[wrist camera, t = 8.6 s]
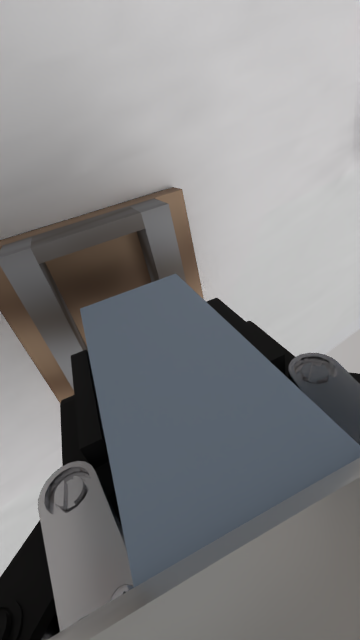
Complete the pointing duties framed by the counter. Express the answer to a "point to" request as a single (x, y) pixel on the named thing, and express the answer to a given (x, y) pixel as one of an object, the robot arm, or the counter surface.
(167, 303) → the blue-grey block
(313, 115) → the counter surface
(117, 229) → the rail
